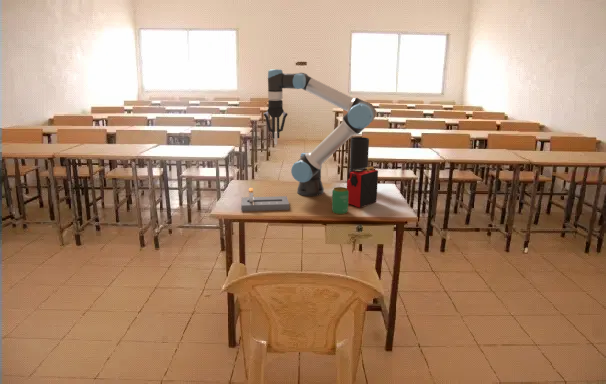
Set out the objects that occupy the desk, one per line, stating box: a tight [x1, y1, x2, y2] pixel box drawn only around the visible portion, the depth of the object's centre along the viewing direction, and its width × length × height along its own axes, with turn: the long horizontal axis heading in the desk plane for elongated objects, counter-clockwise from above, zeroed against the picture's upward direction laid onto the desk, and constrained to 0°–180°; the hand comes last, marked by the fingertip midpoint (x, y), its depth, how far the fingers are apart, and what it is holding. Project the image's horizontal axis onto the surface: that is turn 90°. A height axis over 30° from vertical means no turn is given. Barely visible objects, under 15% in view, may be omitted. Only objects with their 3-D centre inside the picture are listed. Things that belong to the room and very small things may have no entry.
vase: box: [349, 136, 370, 172], centre depth 266 cm, size 10×10×30 cm
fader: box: [248, 187, 254, 202], centre depth 235 cm, size 2×5×9 cm, turn 7°
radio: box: [346, 166, 379, 209], centre depth 241 cm, size 16×10×20 cm, turn 134°
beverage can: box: [331, 186, 349, 215], centre depth 228 cm, size 8×8×12 cm
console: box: [240, 195, 290, 212], centre depth 237 cm, size 24×14×3 cm, turn 97°
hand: (275, 144), depth 246 cm, fingers closed
